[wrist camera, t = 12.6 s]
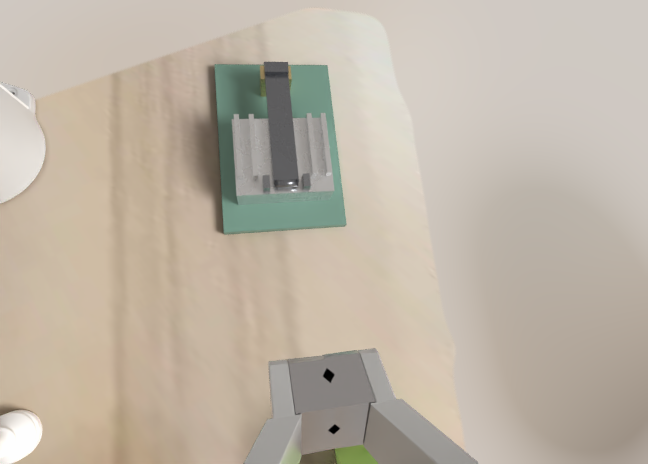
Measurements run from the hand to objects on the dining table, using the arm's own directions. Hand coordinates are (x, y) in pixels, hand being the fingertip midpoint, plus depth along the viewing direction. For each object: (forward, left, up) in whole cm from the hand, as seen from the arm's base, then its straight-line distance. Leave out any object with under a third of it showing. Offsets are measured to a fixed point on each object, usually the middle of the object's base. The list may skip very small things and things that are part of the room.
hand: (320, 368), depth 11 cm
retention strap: (-11, +23, -34) cm, 42 cm away
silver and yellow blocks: (-11, +23, -38) cm, 46 cm away
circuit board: (-11, +22, -39) cm, 47 cm away
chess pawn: (-20, -22, -40) cm, 49 cm away
